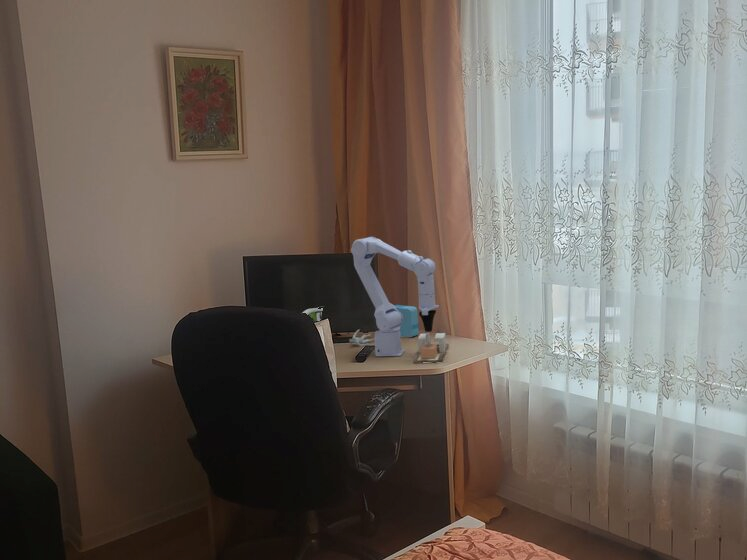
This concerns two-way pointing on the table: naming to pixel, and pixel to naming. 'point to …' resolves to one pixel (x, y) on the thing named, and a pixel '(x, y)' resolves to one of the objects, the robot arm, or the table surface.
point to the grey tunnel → (437, 338)
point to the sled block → (428, 349)
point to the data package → (408, 321)
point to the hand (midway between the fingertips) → (428, 331)
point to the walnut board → (438, 358)
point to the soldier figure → (360, 339)
